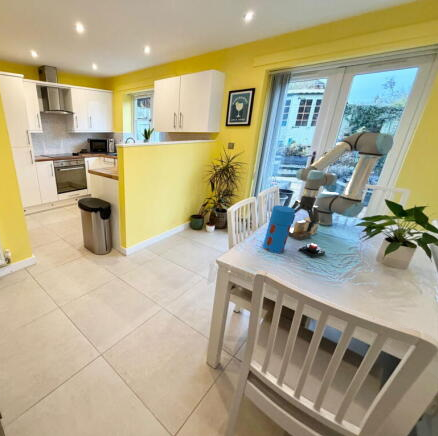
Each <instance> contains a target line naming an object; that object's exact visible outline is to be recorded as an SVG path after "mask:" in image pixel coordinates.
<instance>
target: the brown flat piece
mask: <svg viewBox="0 0 438 436" xmlns="http://www.w3.org/2000/svg"><path fill="white" fill-rule="evenodd" d="M293 230H294V227H290V231H289V234H288V237H290V238H292V239H294V240H297V241H300V240H304V239H305V240H306V239H311V236H312V235H311V234H312V233H309V232H306V231H305V230H303V231H302V232H296V233H295V232H293Z"/></svg>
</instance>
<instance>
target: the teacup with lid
mask: <svg viewBox="0 0 438 436" xmlns="http://www.w3.org/2000/svg"><path fill="white" fill-rule="evenodd" d="M308 217H309V216H308ZM308 217H304V218H303V221H306V224H305V227H304V230H305V231H307V228H308V225H309V222H311V220H310V217H309V218H308ZM319 224H320V221H319V222H318V223H315V224H314V227H312V228H311V231H310V232H309V233H312V234H311V236H313V235H314V236H315V235H316V234H317V233H318V229H319V226H320V225H319Z"/></svg>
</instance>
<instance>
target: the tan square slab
mask: <svg viewBox="0 0 438 436" xmlns="http://www.w3.org/2000/svg"><path fill="white" fill-rule="evenodd" d="M305 224H306V221H304V220H299V221H295V223H294V227H293V228H294V230H293V232H295V233H296V232H302V231H303V230H304V227H305Z"/></svg>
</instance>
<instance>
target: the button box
mask: <svg viewBox="0 0 438 436" xmlns="http://www.w3.org/2000/svg"><path fill="white" fill-rule="evenodd" d="M309 246H310V243H307V244H306V245H305V246H300V247H299V248H298V252H299V253H302V254H304V255H306V256H307V257H309V258H311V259H313V258H317V257H321V256H325V254H326V251H324V250H323V249H321V247H320V246H318V247H317V249H314V248H311V247H309Z"/></svg>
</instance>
